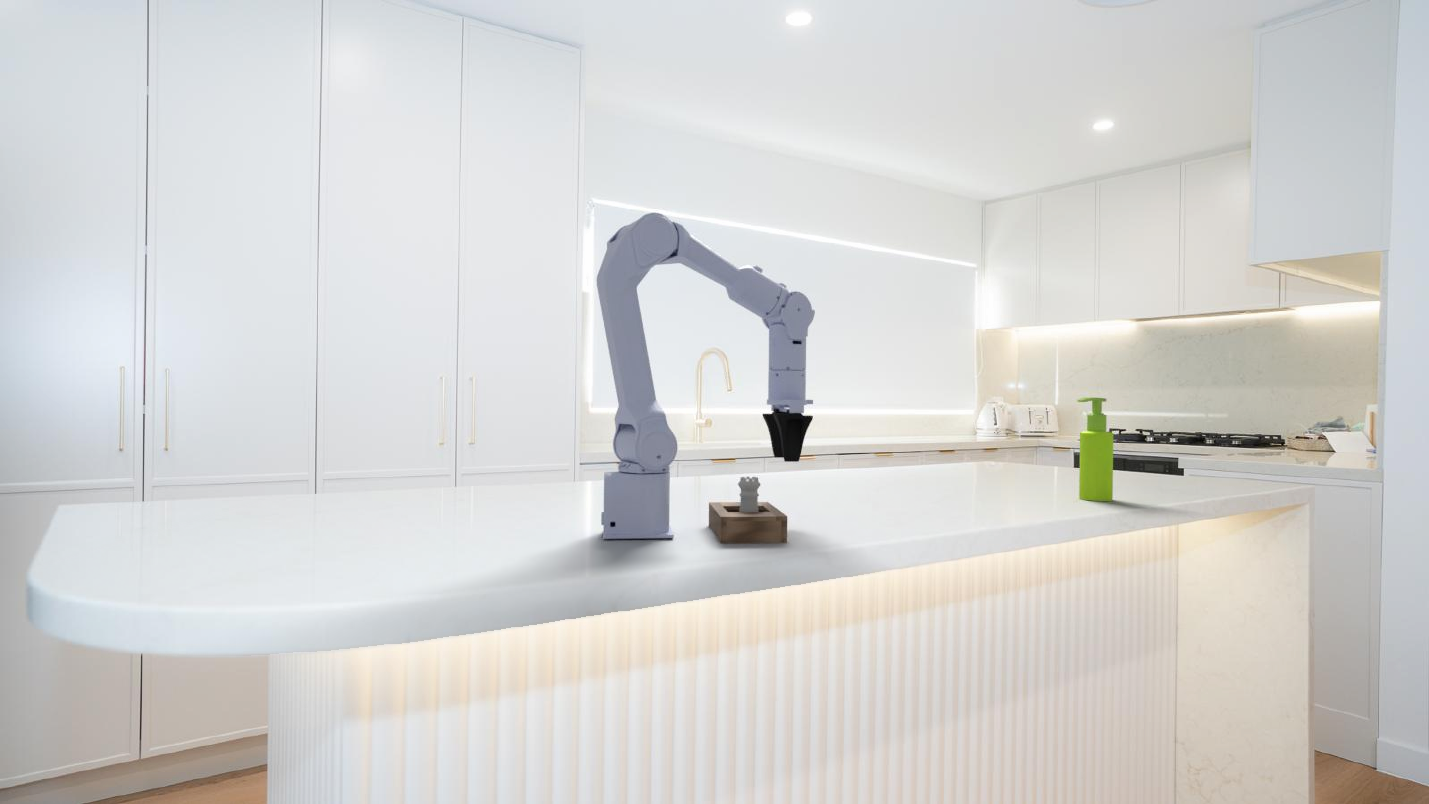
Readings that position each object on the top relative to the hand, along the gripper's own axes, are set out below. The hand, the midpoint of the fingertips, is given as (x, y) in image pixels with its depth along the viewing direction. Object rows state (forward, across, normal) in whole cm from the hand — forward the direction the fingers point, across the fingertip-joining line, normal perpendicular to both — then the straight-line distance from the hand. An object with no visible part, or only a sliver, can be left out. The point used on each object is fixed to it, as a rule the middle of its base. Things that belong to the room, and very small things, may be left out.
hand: (786, 459), depth 119 cm
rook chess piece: (+10, -8, +7) cm, 15 cm away
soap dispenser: (+10, +25, -67) cm, 72 cm away
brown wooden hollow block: (+10, -8, +8) cm, 15 cm away
